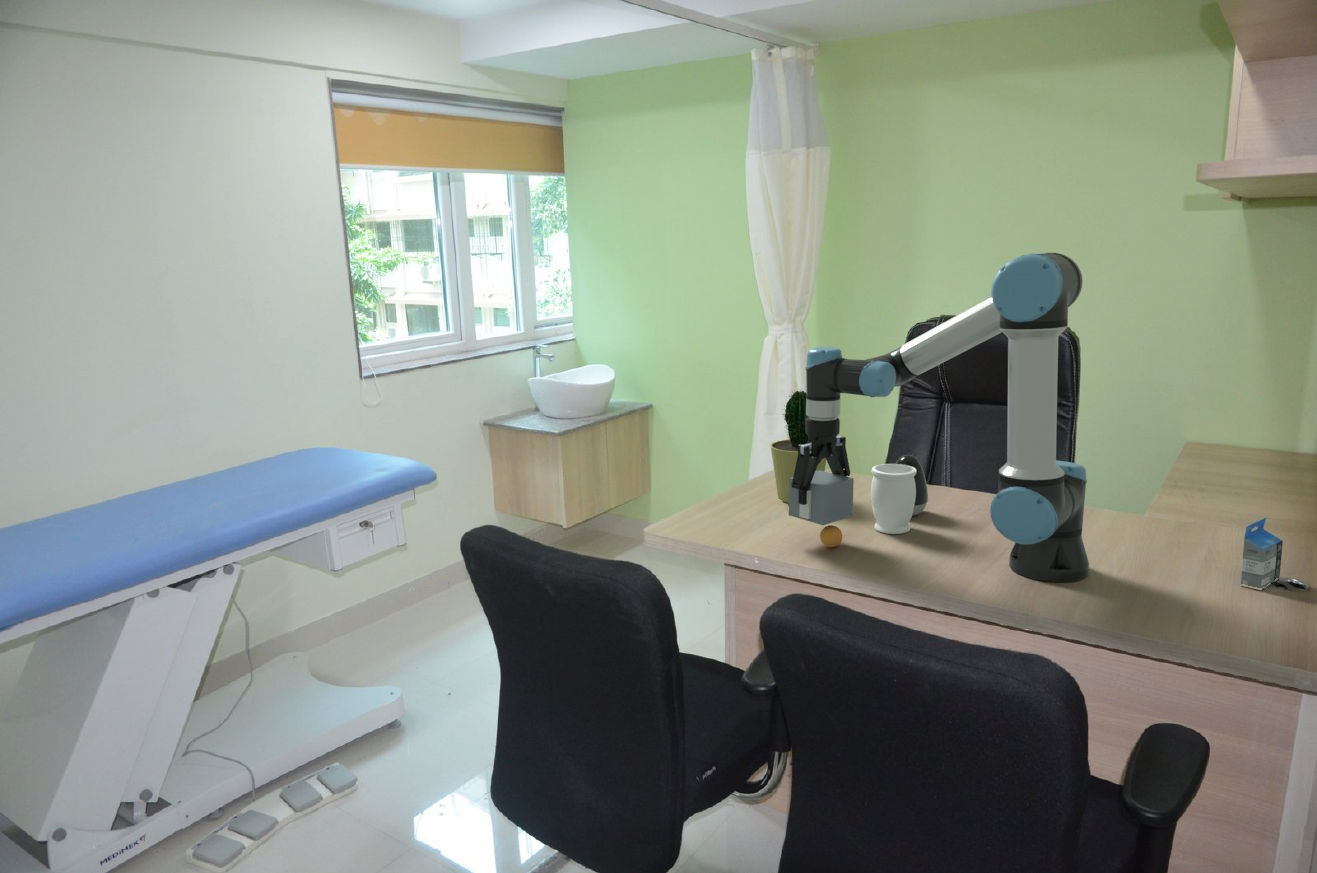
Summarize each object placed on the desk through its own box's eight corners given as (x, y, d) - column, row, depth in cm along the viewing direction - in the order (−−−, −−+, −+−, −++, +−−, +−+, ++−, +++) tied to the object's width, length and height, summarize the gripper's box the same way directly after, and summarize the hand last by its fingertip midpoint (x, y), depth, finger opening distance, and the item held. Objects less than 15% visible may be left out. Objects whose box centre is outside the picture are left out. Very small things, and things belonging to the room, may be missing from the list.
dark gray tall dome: (932, 510, 226) (935, 452, 222) (920, 521, 217) (922, 461, 214) (893, 505, 231) (895, 448, 228) (880, 515, 223) (881, 457, 219)
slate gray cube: (852, 515, 202) (853, 478, 200) (823, 525, 195) (824, 487, 193) (817, 506, 209) (818, 470, 207) (788, 515, 203) (789, 478, 201)
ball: (826, 524, 204) (832, 545, 204) (813, 529, 201) (818, 551, 201) (843, 521, 201) (849, 543, 200) (829, 526, 197) (835, 548, 197)
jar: (916, 537, 206) (918, 474, 203) (870, 535, 208) (872, 473, 205) (912, 523, 216) (914, 463, 213) (869, 521, 218) (870, 462, 215)
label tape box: (1261, 592, 170) (1268, 531, 167) (1237, 586, 173) (1244, 526, 170) (1279, 581, 175) (1287, 521, 172) (1256, 575, 178) (1263, 516, 175)
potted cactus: (762, 493, 245) (761, 386, 239) (813, 488, 249) (814, 382, 242) (782, 509, 231) (782, 395, 224) (837, 503, 234) (839, 391, 228)
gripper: (842, 407, 207) (839, 498, 212) (775, 422, 193) (774, 519, 198) (868, 412, 201) (865, 505, 206) (801, 427, 187) (800, 527, 192)
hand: (820, 512), depth 202 cm, fingers closed on slate gray cube, 10 cm apart
